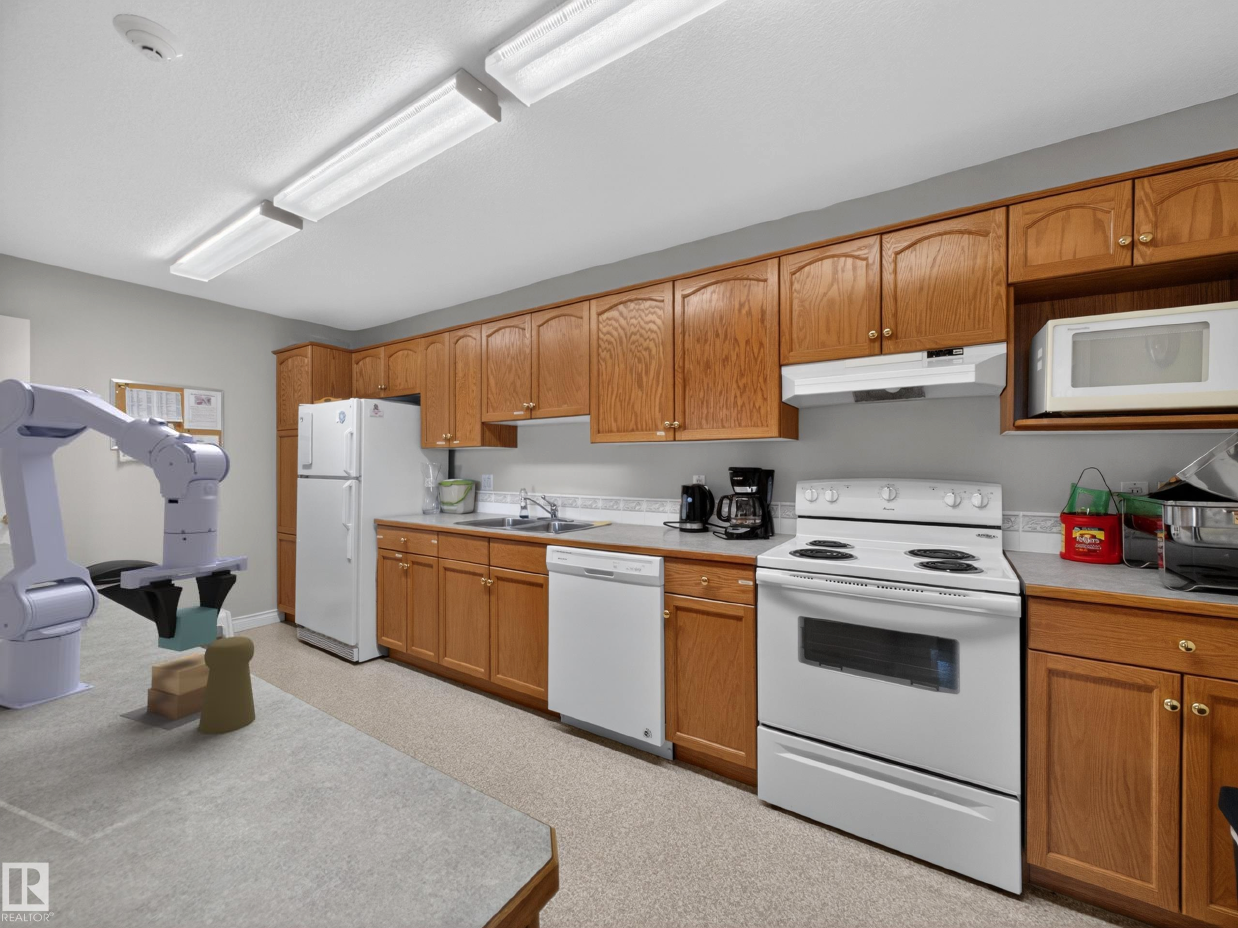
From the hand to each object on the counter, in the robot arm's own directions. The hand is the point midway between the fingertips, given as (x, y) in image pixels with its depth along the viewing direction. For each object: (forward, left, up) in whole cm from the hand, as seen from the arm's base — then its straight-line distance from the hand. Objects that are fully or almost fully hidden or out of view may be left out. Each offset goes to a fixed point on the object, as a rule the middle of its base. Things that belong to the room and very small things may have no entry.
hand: (187, 632), depth 73 cm
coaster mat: (0, 0, -10) cm, 10 cm away
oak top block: (0, 0, -7) cm, 7 cm away
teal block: (0, 0, -2) cm, 2 cm away
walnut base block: (0, 0, -10) cm, 10 cm away
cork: (+10, -1, -11) cm, 14 cm away
